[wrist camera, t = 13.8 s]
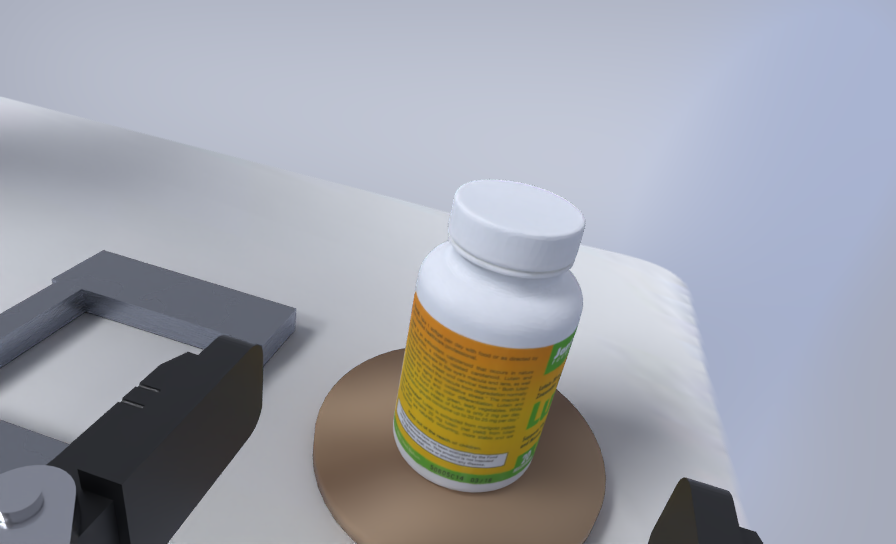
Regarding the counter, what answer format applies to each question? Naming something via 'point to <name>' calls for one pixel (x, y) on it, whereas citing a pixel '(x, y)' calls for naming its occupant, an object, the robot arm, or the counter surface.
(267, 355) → the grey rectangular frame
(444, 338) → the supplement bottle
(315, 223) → the counter surface
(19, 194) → the counter surface
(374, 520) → the walnut pad
